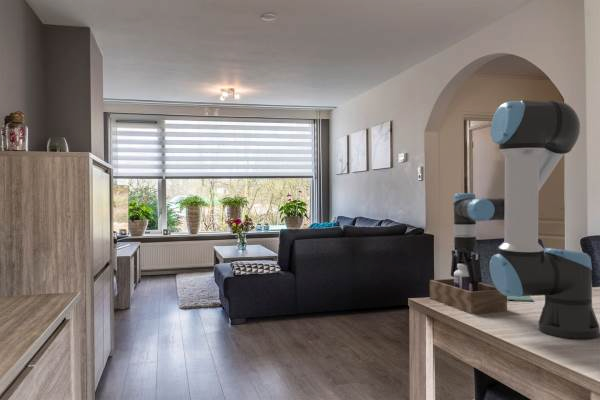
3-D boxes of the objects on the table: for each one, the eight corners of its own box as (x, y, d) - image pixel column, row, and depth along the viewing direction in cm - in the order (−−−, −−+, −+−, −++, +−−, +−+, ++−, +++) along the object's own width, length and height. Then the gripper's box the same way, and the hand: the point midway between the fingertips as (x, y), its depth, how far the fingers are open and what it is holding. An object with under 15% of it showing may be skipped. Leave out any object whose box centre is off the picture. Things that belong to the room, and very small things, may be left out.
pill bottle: (481, 303, 173) (481, 263, 173) (472, 307, 167) (471, 266, 167) (460, 300, 179) (459, 262, 179) (450, 304, 173) (449, 264, 173)
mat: (533, 301, 176) (533, 299, 176) (492, 300, 179) (492, 298, 179) (525, 294, 189) (525, 292, 189) (487, 293, 193) (487, 291, 193)
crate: (507, 310, 162) (506, 289, 162) (471, 313, 159) (470, 292, 159) (461, 296, 188) (461, 278, 188) (429, 298, 184) (429, 280, 184)
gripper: (492, 237, 164) (493, 304, 164) (457, 233, 184) (458, 293, 184) (473, 238, 162) (474, 306, 162) (440, 234, 182) (441, 294, 182)
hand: (466, 299), depth 173 cm, fingers closed on pill bottle, 8 cm apart
